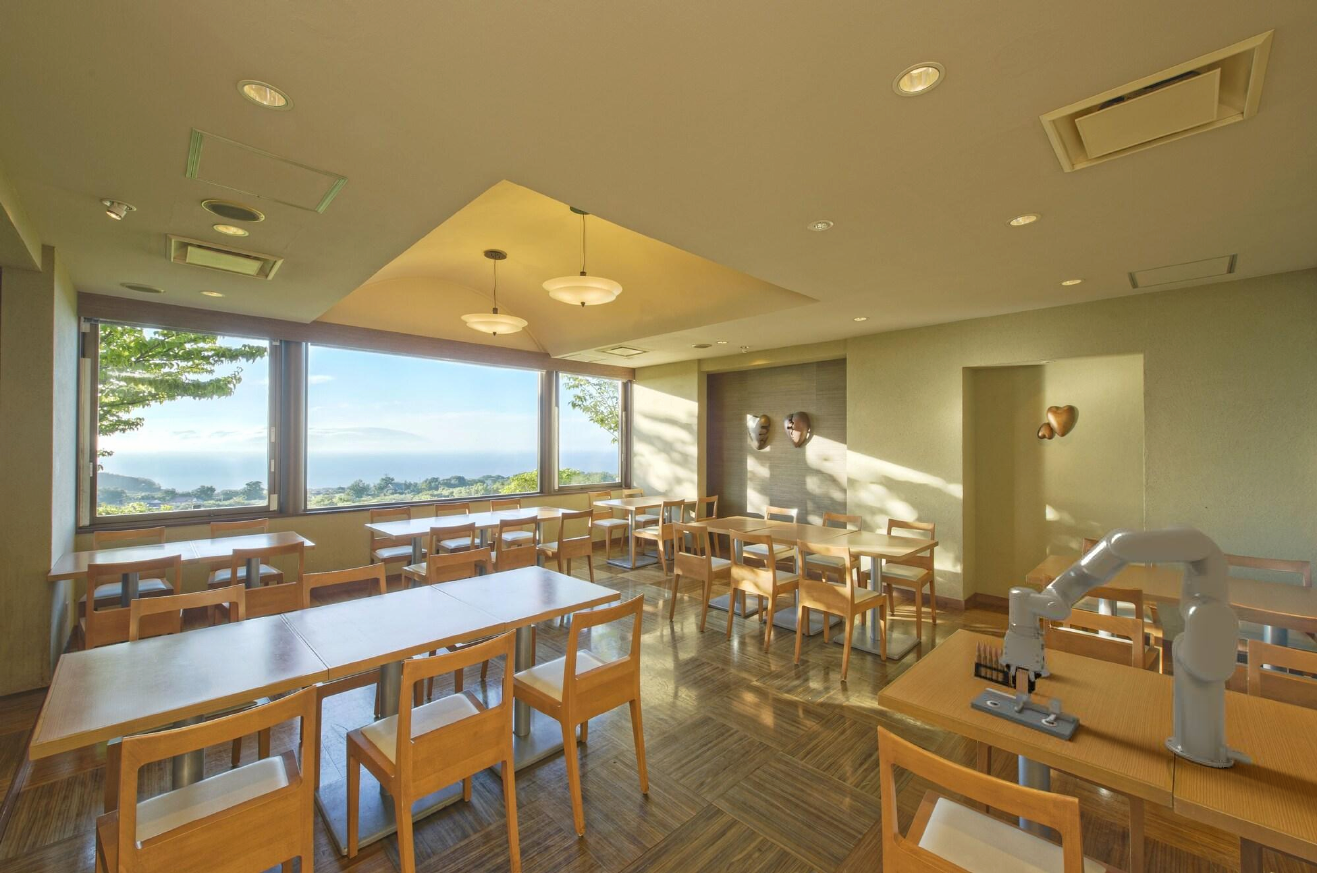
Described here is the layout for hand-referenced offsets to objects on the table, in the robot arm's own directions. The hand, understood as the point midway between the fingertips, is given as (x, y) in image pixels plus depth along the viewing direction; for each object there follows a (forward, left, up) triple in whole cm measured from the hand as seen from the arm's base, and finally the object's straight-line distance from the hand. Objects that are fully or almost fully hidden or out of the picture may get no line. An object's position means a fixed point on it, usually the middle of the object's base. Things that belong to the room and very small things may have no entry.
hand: (1023, 689), depth 162 cm
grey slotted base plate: (-1, +4, -6) cm, 7 cm away
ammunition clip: (+13, -16, -7) cm, 21 cm away
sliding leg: (0, +3, -5) cm, 5 cm away
